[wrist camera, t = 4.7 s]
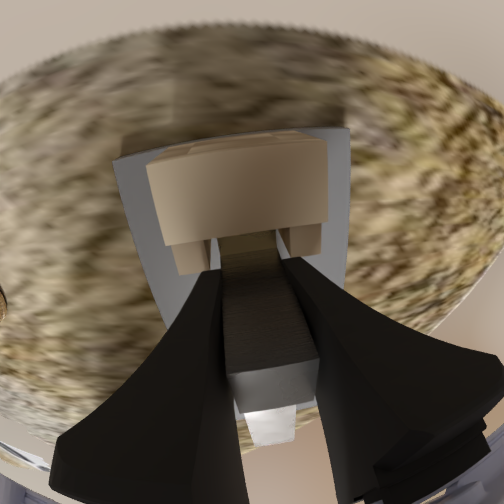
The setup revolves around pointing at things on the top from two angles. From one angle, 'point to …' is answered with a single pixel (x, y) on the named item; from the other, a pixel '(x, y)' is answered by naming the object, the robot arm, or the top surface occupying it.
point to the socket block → (240, 193)
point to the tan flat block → (263, 327)
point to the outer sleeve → (272, 425)
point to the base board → (162, 259)
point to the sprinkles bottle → (2, 308)
